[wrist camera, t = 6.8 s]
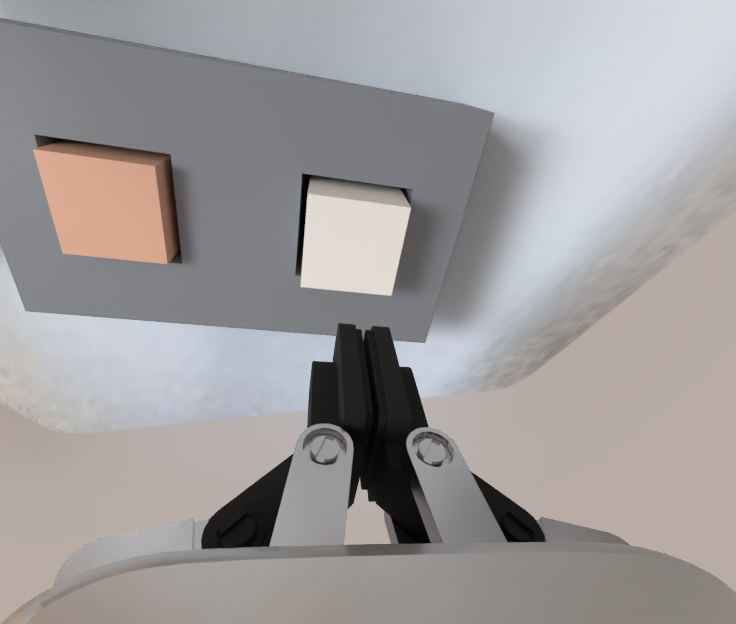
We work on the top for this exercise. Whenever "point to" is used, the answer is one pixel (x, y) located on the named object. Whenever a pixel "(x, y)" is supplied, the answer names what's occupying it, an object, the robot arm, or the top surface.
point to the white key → (353, 235)
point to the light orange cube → (110, 200)
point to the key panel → (226, 181)
